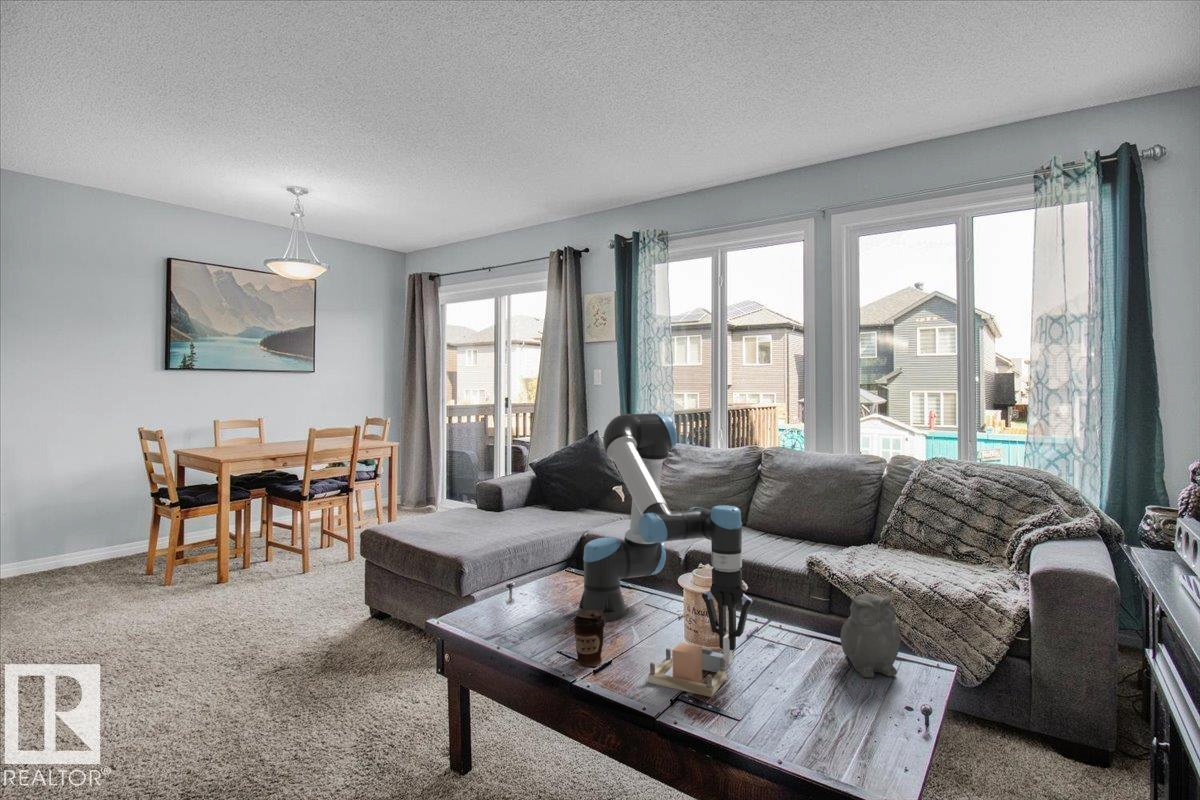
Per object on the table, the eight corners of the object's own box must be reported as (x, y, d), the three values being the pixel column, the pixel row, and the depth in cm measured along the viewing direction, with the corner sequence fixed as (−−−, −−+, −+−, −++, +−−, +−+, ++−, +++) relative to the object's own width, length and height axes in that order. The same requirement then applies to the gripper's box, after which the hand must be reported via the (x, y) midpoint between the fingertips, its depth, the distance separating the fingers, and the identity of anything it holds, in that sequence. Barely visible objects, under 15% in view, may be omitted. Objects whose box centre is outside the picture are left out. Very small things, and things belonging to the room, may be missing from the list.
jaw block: (681, 674, 153) (681, 642, 153) (702, 678, 150) (701, 646, 150) (672, 682, 148) (672, 649, 148) (693, 687, 145) (693, 654, 145)
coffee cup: (602, 671, 155) (601, 619, 155) (570, 668, 156) (570, 618, 157) (608, 657, 163) (608, 608, 164) (578, 655, 165) (578, 607, 165)
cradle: (666, 665, 158) (666, 647, 158) (726, 677, 150) (726, 659, 150) (648, 682, 148) (648, 663, 148) (711, 697, 140) (711, 677, 140)
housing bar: (689, 662, 159) (689, 643, 159) (726, 670, 154) (726, 650, 154) (686, 666, 157) (685, 646, 157) (723, 674, 152) (723, 653, 152)
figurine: (853, 681, 148) (852, 599, 148) (828, 654, 164) (827, 580, 164) (911, 681, 148) (909, 598, 148) (880, 654, 164) (879, 580, 164)
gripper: (697, 568, 153) (698, 662, 153) (748, 575, 147) (749, 673, 146) (706, 561, 160) (708, 652, 159) (756, 567, 153) (757, 661, 153)
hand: (727, 661), depth 153 cm, fingers closed
